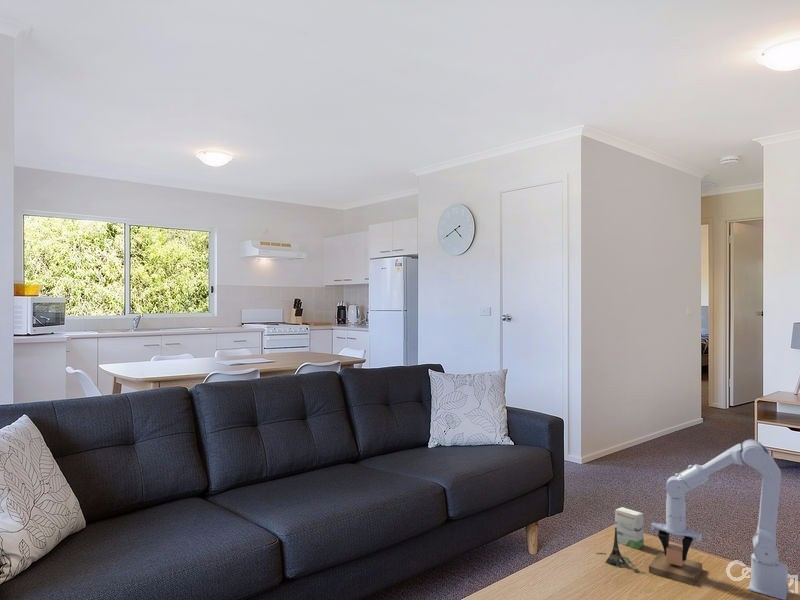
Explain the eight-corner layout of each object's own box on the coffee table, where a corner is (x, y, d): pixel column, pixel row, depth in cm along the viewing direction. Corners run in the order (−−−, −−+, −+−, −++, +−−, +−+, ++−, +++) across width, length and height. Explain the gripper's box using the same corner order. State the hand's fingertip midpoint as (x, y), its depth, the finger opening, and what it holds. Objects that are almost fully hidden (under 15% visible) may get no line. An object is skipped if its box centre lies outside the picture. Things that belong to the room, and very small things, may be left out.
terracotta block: (685, 561, 185) (685, 547, 185) (681, 566, 182) (681, 552, 182) (669, 557, 188) (669, 543, 188) (666, 562, 185) (666, 548, 185)
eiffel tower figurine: (641, 576, 183) (642, 534, 183) (609, 575, 183) (609, 533, 183) (624, 555, 198) (624, 516, 198) (594, 554, 198) (595, 515, 198)
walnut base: (702, 569, 186) (702, 563, 186) (693, 585, 176) (693, 578, 176) (659, 558, 194) (659, 552, 194) (648, 572, 184) (648, 566, 184)
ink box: (644, 546, 204) (644, 512, 204) (637, 549, 201) (637, 516, 201) (621, 538, 211) (621, 505, 211) (614, 541, 207) (614, 508, 207)
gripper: (703, 516, 184) (703, 559, 184) (655, 506, 193) (655, 547, 193) (698, 523, 178) (698, 567, 178) (649, 512, 187) (649, 554, 187)
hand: (675, 557), depth 185 cm, fingers closed on terracotta block, 5 cm apart
